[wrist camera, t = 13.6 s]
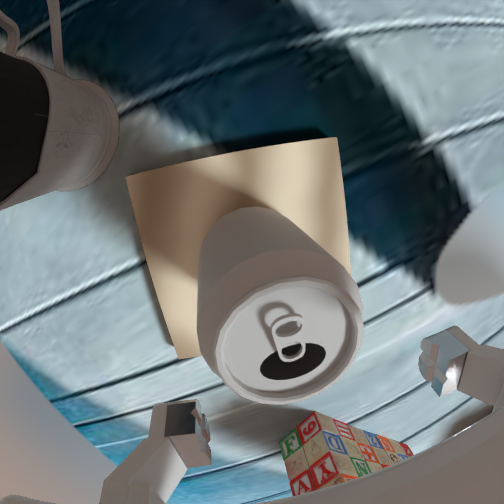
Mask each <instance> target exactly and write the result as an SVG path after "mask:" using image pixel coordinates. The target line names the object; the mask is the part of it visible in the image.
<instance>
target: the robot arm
mask: <svg viewBox="0 0 504 504" xmlns="http://www.w3.org/2000/svg"><path fill="white" fill-rule="evenodd" d="M421 349H422V350H423V352H422V354H421V355H420V357H419V363H418V365H419V370H420V372H421V374H422V376H423V377H424V379H425V380H428V381H431V387H432V388H433V389H434V391H435V392H436V393H437V394H438V395H439V397H442V396H444V395H446V394H448V393H450V392H453V391H455V390H457V389H458V391H461V392H463V393H465V394H467V395H469V396H472V397H474V398H476V399H478V400H481V401H483V402H485V403H488V404H490V405H492V406H494V408H493V411H492V413H490V414H489V415H487V416H486V417H484V418H482V419H481V420H479V421H478V422H476V423H474V424H473V425H471V426H469V427H467V428H466V429H464V430H462V431H461V432H459V433H457V434H455V435H453V436H452V437H450V438H448V439H446V440H444V441H442V442H440V443H438V444H436V445H434V446H432V447H430V448H428V449H426V450H424V451H422V452H420V453H418V454H416V455H413V456H411V457H409V458H407V459H404V460H402V461H400V462H397V463H395V464H393V465H390V466H388V467H385V468H383V469H380V470H378V471H375V472H372V473H370V474H367V475H364V476H361V477H358V478H355V479H353V480H350V481H346V482H343V483H340V484H337V485H334V486H330V487H327V488H323V489H320V490H316V491H312V492H309V493H305V494H300V495H296V496H292V497H288V498H283V499H278V500H273V501H268V502H262V503H257V504H504V349H500V348H495V347H491V346H487V345H481V346H480V345H479V344H477V343H476V342H475V341H474V340H473V339H472V338H470V337H469V336H468V335H467V334H466V333H465V332H463V331H462V330H461V329H460V328H459V327H457V326H452V327H450V328H448V329H445V330H444V331H441V332H439V333H436V334H434V335H431V336H429V337H426V338H424V339H423V340H422V342H421ZM209 441H210V431H209V425H208V422H207V419H206V416H205V415H204V414H202V413H201V405H200V402H199V400H197V399H194V400H185V401H176V402H169V403H159V404H155V405H154V406H153V411H152V417H151V423H150V430H149V437H148V439H144V440H143V441H142V442H141V443H140V444H139V445H138V446H137V447H136V448H135V449H134V450H133V451H132V452H131V454H130V455H129V456H128V457H127V458H126V459H125V460H124V461H123V462H122V463H121V464H120V465H119V466H118V467H117V468H116V469H115V470H114V471H113V472H112V473H111V474H110V475H109V476H108V477H107V478H106V479H105V480H104V483H103V488H102V493H101V498H100V503H99V504H166V502H167V500H168V499H169V497H170V496H171V494H172V493H173V491H174V490H175V488H176V486H177V485H178V483H179V482H180V480H181V479H182V477H183V476H184V474H185V472H186V471H187V468H190V467H198V466H205V465H211V449H210V447H209V445H208V442H209ZM0 504H55V503H49V502H44V501H39V500H35V499H30V498H27V497H23V496H18V495H8V496H6V497H4V498H2V499H1V500H0Z"/></svg>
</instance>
